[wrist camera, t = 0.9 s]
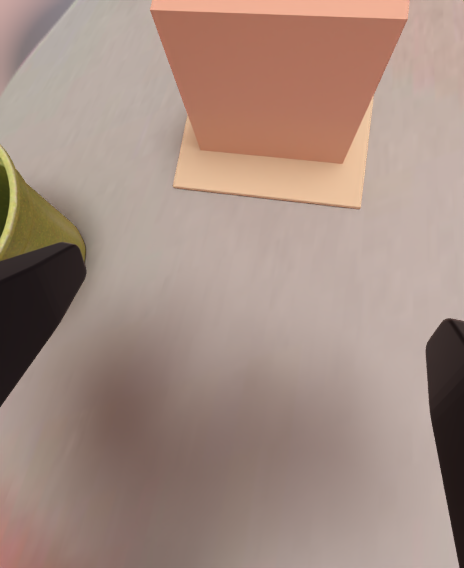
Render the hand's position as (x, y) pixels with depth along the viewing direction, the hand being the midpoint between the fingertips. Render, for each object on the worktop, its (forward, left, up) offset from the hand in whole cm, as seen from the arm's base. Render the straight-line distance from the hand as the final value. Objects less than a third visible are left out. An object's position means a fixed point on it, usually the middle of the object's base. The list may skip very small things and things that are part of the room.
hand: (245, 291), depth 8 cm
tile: (+9, +8, -13) cm, 18 cm away
